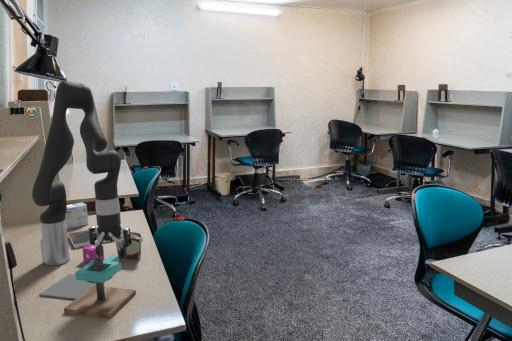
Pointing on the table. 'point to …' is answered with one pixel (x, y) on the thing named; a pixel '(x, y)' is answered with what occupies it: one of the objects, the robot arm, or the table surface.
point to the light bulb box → (76, 215)
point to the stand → (100, 298)
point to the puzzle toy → (90, 253)
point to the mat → (67, 288)
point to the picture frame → (81, 238)
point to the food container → (132, 247)
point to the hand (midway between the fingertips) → (111, 257)
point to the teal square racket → (90, 274)
